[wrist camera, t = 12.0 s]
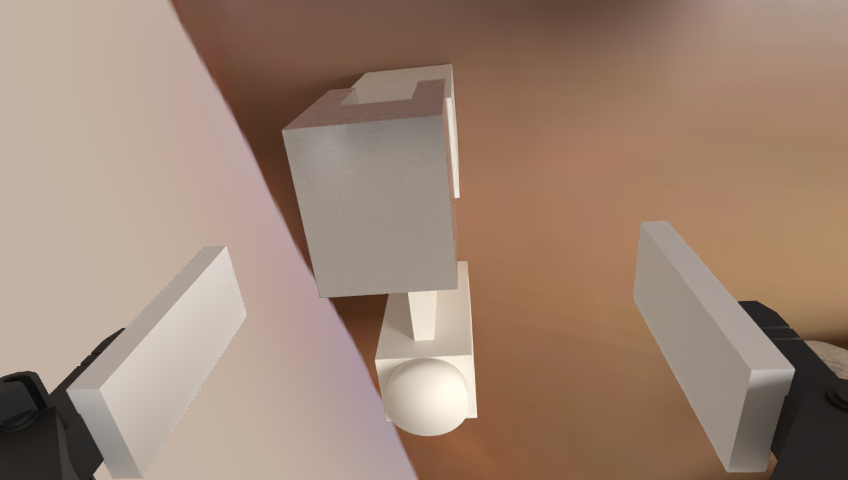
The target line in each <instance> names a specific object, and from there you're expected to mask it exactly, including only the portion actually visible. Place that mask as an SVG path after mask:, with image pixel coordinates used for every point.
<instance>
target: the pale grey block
mask: <svg viewBox="0 0 848 480" xmlns="http://www.w3.org/2000/svg"><path fill="white" fill-rule="evenodd" d="M282 134H283V139H284V143H285V147H286V152H287V156H288V161H289V165H290V169H291V174H292V178H293V182H294V187H295V191H296V196H297V200H298V204H299V209H300V213H301V217H302V222H303V226H304V231H305V235H306V239H307V244H308V248H309V252H310V257H311V261H312V266H313V270H314V274H315V279H316V283H317V287H318V292H319V296H320V298H327V297H343V296H358V295H374V294H390V293H406V292H421V291H437V290H453V289H458V273H457V212H456V200H455V189H454V177H453V165H452V153H451V141H450V129H449V117H448V106H447V94H446V82H445V79H435V80H425V81H418V83H417V86H416V88H415V91H414V94H413V96H412V99H405V100H395V101H385V102H375V103H364V104H358V98H357V92H356V88H346V89H336V90H329V91H328V92H327V93H326V94H324V95H323V96H322V97H321V98H320V99H318V100H317V101H316V102H315V103H314V104H312V105H311V106H310V107H309V108H308V109H306V110H305V111H304V112H303V113H302V114H300V115H299V116H298V117H297V118H296V119H294V120H293V121H292V122H291V123H290V124H288V125H287V126H286V127H285V128H284V129H282Z"/></svg>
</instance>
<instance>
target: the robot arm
mask: <svg viewBox="0 0 848 480" xmlns="http://www.w3.org/2000/svg"><path fill="white" fill-rule="evenodd" d="M633 300H634V302H635V304H636V305H637V307H638V309H639V311H640V313H641V315H642V316H643V318H644V320H645V322H646V324H647V326H648V328H649V329H650V331H651V333H652V335H653V337H654V339H655V340H656V342H657V344H658V346H659V348H660V350H661V351H662V353H663V355H664V357H665V359H666V361H667V363H668V364H669V366H670V368H671V370H672V372H673V374H674V375H675V377H676V379H677V381H678V383H679V385H680V386H681V388H682V390H683V392H684V394H685V396H686V398H687V399H688V401H689V403H690V405H691V407H692V409H693V410H694V412H695V414H696V416H697V418H698V420H699V421H700V423H701V425H702V427H703V429H704V431H705V433H706V434H707V436H708V438H709V440H710V442H711V444H712V445H713V447H714V449H715V451H716V453H717V455H718V456H719V458H720V460H721V462H722V464H723V466H724V468H725V469H726V471H727V472H766V469H767V465H768V462H769V458H770V455H771V451H772V452H773V454H774V455H775V457H776V458H777V460H778V462H777V464H776V466H775V469H774V471H773V474H772V476H771V478H770V480H848V380H847V379H843V378H839V377H838V376H837V375H836V374H835V373H834V372H833V371H832V370H831V369H830V368H829V367H828V366H827V365H826V364H825V363H824V362H823V361H822V360H821V358H820V357H819V356H818V355H817V354H816V353H815V352H814V351H813V350H812V349H811V348H810V347H809V346H808V345H807V344H806V343H805V342H804V341H803V340H801V339H800V336H799V335H798V334H797V333H796V332H795V331H794V330H793V329H790V326H789V325H788V324H787V323H786V322H785V321H784V320H783V319H782V318H781V317H780V316H779V315H778V313H777V312H775V311H773V310H771V309H770V308H768V307H766V306H765V305H763V304H761V303H759V302H758V301H736V300H735V299H734V298H733V296H732V295H731V294H730V293H729V292H728V291H727V289H726V288H725V287H724V286H723V285H722V284H721V283H720V281H719V280H718V279H717V278H716V277H715V276H714V274H713V273H712V272H711V271H710V270H709V269H708V267H707V266H706V265H705V264H704V263H703V262H702V261H701V259H700V258H699V257H698V256H697V255H696V254H695V252H694V251H693V250H692V249H691V248H690V247H689V245H688V244H687V243H686V242H685V241H684V240H683V239H682V237H681V236H680V235H679V234H678V233H677V232H676V230H675V229H674V228H673V227H672V226H671V225H670V223H669V222H668V221H655V222H641V225H640V235H639V245H638V255H637V265H636V274H635V284H634V294H633ZM246 316H247V313H246V310H245V306H244V303H243V300H242V296H241V293H240V290H239V286H238V283H237V280H236V276H235V273H234V270H233V266H232V263H231V259H230V256H229V253H228V249H227V246H216V247H204V248H203V249H202V250H201V251H200V252H199V253H198V254H197V255H196V256H195V257H194V258H193V260H191V261H190V262H189V264H188V265H187V266H186V267H185V268H184V269H183V270H182V271H181V272H180V273H179V274H178V275H177V276H176V277H175V278H174V279H173V280H172V281H171V282H170V283H169V284H168V285H167V286H166V287H165V289H163V290H162V291H161V292H160V294H158V295H157V297H156V298H155V299H154V300H153V301H152V302H151V303H150V304H149V305H148V306H147V307H146V308H145V309H144V310H143V311H142V312H141V313H140V314H139V315H138V316H137V317H136V318H135V319H134V320H133V321H132V323H130V324H129V325H128V326H127V327H126V328H122V329H120V330H119V331H117V332H116V333H114V334H113V335H111V336H110V337H108V338H106V339H105V340H103V341H102V342H101V343H100V345H98V347H96V348H95V350H93V351H92V353H91V355H89V356H87V358H86V359H85V360H84V361H82V363H81V366H78V367H77V368H76V369H75V370H74V371H73V372H72V373H71V374H70V375H69V376H68V377H67V378H66V379H65V380H64V381H63V382H62V383H61V384H60V385H59V386H58V387H57V388H56V389H55V390H54V391H53V392H52V393H51V394H50V395H49V394H48V392H47V390H46V389H45V387H44V385H43V383H42V382H41V379H40V378H39V376H38V374H37V373H35V372H30V371H25V372H17V373H14V374H10V375H7V376H4V377H1V378H0V480H96V479H95V478H94V476H93V474H94V472H95V471H96V470H97V468H98V467H99V466H100V465H101V463H102V462H103V461H104V463H105V465H106V467H107V469H108V471H109V472H110V474H111V476H112V478H143V477H144V476H145V474H146V472H147V471H148V469H149V468H150V466H151V465H152V463H153V461H154V460H155V458H156V457H157V455H158V454H159V452H160V450H161V449H162V447H163V446H164V444H165V443H166V441H167V440H168V438H169V437H170V435H171V433H172V432H173V430H174V429H175V427H176V426H177V424H178V423H179V421H180V419H181V418H182V416H183V415H184V413H185V411H186V410H187V408H188V407H189V405H190V404H191V402H192V401H193V399H194V398H195V396H196V394H197V393H198V391H199V390H200V388H201V387H202V385H203V383H204V382H205V380H206V379H207V377H208V376H209V374H210V373H211V371H212V369H213V368H214V366H215V365H216V363H217V362H218V360H219V359H220V357H221V355H222V354H223V352H224V351H225V349H226V348H227V346H228V345H229V343H230V341H231V340H232V338H233V337H234V335H235V333H236V332H237V331H238V328H239V327H240V326H241V324H242V323H243V321H244V320H245V318H246Z"/></svg>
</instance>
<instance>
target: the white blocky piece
mask: <svg viewBox="0 0 848 480" xmlns="http://www.w3.org/2000/svg"><path fill="white" fill-rule="evenodd" d="M435 79H445V82H446V94H447V106H448V117H449V129H450V141H451V153H452V165H453V177H454V189H455V198H459V170H458V138H457V125H456V112H455V99H454V86H453V74H452V64H446V65H436V66H426V67H417V68H407V69H397V70H388V71H378V72H368V73H365V74H364V75H363V76H362V77H361V78H360V79H359V80H358V81H357V82H356V83H355V84H354V85H353V86H352V87H351V88H356V92H357V98H358V104H364V103H375V102H385V101H395V100H405V99H412V96H413V94H414V91H415V88H416V86H417V83H418V81H425V80H435ZM457 273H458V289H453V290H437V291H421V292H406V293H390V294H389V295H388V300H387V305H386V309H385V314H384V319H383V324H382V329H381V333H380V338H379V343H378V348H377V352H376V357H375V363H376V368H377V374H378V379H379V384H380V390H381V395H382V401H383V406H384V412H385V417H386V421H392V422H393V423H394V424H396V425H397V426H398V427H400V428H401V429H403V430H405V431H407V432H409V433H412V434H416V435H422V436H435V435H441V434H444V433H447V432H449V431H451V430H453V429H455V428H456V427H458V426H459V425H460V424H461V423H462V422H463V420H464V419H465V418H477V407H476V389H475V372H474V354H473V336H472V319H471V304H470V291H469V279H468V266H467V261H457Z"/></svg>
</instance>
